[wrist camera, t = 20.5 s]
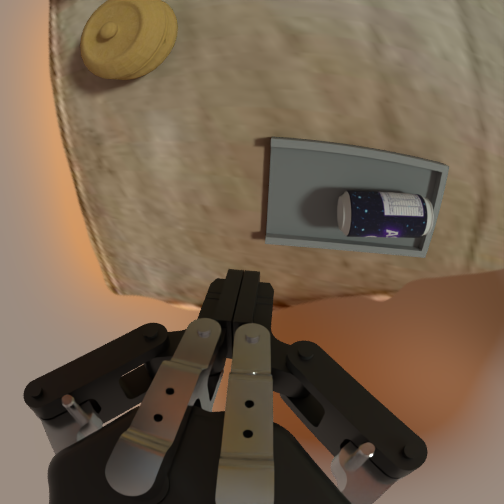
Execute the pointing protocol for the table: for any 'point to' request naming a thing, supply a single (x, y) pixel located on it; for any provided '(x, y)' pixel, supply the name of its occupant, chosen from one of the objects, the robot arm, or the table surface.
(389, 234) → the beverage can
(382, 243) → the gray tray
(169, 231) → the table surface
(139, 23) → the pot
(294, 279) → the table surface
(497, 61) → the table surface
